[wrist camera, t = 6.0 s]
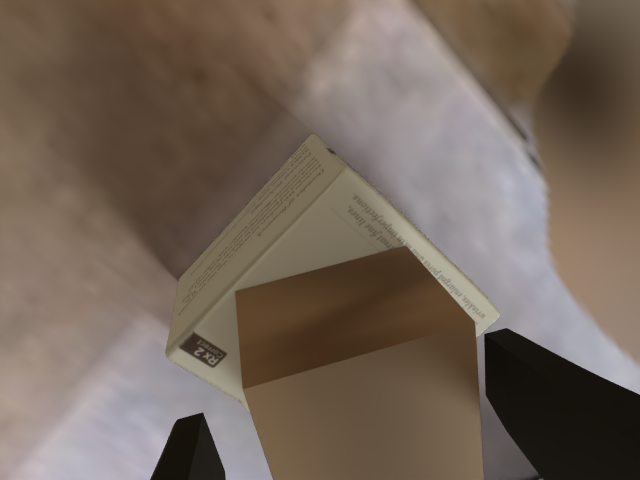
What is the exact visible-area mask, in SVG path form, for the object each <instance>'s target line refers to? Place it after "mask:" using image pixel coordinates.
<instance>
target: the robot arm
mask: <svg viewBox="0 0 640 480" xmlns="http://www.w3.org/2000/svg"><path fill="white" fill-rule="evenodd" d="M484 341H485V386H486V396H487V398H488V400H489V402H490V403H491V405H492V407H493V409H494V410H495V412H496V414H497V416H498V417H499V419H500V421H501V422H502V424H503V426H504V427H505V429H506V431H507V432H508V433H509V435H510V436H511V437H512V439H513V440H514V441H515V443H516V444H517V445H518V447H519V448H520V450H521V451H522V452H523V454H524V455H525V456H526V458H527V459H528V460H529V461H530V463H531V464H532V465H533V467H534V468H535V469H536V471H537V472H538V473H539V475H540V476H541V477H542V478H541V479H538V480H640V395H639V394H637V393H635V392H632V391H630V390H628V389H626V388H624V387H621V386H619V385H617V384H615V383H613V382H610V381H608V380H606V379H604V378H602V377H600V376H598V375H596V374H594V373H592V372H590V371H588V370H586V369H584V368H582V367H580V366H578V365H576V364H574V363H572V362H570V361H568V360H566V359H564V358H562V357H560V356H558V355H557V354H555V353H553V352H551V351H549V350H547V349H545V348H543V347H542V346H540V345H538V344H536V343H534V342H532V341H530V340H529V339H527V338H525V337H523V336H521V335H519V334H517V333H515V332H513V331H511V330H509V329H507V328H505V329H502V330H498V331H494V332H491V333H487V334H484ZM150 480H226V478H225V470H224V468H223V465H222V462H221V460H220V457H219V454H218V452H217V449H216V446H215V444H214V441H213V438H212V435H211V433H210V430H209V427H208V425H207V422H206V419H205V417H204V414H203V413H199V414H196V415H192V416H188V417H185V418H181V419H178V420H177V421H176V422H175V424H174V426H173V428H172V431H171V433H170V436H169V438H168V440H167V443H166V445H165V448H164V450H163V452H162V455H161V457H160V459H159V461H158V464H157V466H156V468H155V470H154V473H153V475H152V477H151V479H150Z"/></svg>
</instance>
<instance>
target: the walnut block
mask: <svg viewBox="0 0 640 480" xmlns="http://www.w3.org/2000/svg"><path fill="white" fill-rule="evenodd" d="M235 298H236V311H237V324H238V337H239V350H240V363H241V376H242V389H243V392H244V395H245V398H246V401H247V404H248V407H249V410H250V413H251V416H252V419H253V422H254V425H255V428H256V431H257V434H258V436H259V439H260V442H261V445H262V448H263V451H264V454H265V457H266V460H267V463H268V466H269V469H270V472H271V475H272V478H273V480H484V477H483V458H482V439H481V421H480V402H479V383H478V365H477V346H476V327H475V321H474V320H473V319H472V318H471V317H470V316H469V315H468V314H467V312H466V311H465V310H464V309H463V308H462V307H461V306H460V305H459V304H458V302H457V301H456V300H455V299H454V298H453V297H452V296H451V295H450V294H449V292H448V291H447V290H446V289H445V288H444V287H443V286H442V285H441V284H440V282H439V281H438V280H437V279H436V278H435V277H434V276H433V275H432V274H431V272H430V271H429V270H428V269H427V268H426V267H425V266H424V265H423V264H422V262H421V261H420V260H419V259H418V258H417V257H416V256H415V255H414V254H413V252H412V251H411V250H410V249H409V248H408V247H407V246H402V247H399V248H395V249H391V250H387V251H384V252H380V253H376V254H372V255H369V256H365V257H361V258H357V259H354V260H350V261H346V262H342V263H339V264H335V265H331V266H327V267H324V268H320V269H316V270H312V271H309V272H305V273H301V274H298V275H294V276H290V277H286V278H283V279H279V280H275V281H271V282H268V283H264V284H260V285H256V286H253V287H249V288H245V289H241V290H238V291H235Z"/></svg>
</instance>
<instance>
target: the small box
mask: <svg viewBox="0 0 640 480" xmlns="http://www.w3.org/2000/svg"><path fill="white" fill-rule="evenodd" d="M402 246H407V247H408V248H409V249H410V250H411V251H412V252H413V254H414V255H415V256H416V257H417V258H418V259H419V260H420V261H421V262H422V264H423V265H424V266H425V267H426V268H427V269H428V270H429V271H430V272H431V274H432V275H433V276H434V277H435V278H436V279H437V280H438V281H439V282H440V284H441V285H442V286H443V287H444V288H445V289H446V290H447V291H448V292H449V294H450V295H451V296H452V297H453V298H454V299H455V300H456V301H457V302H458V304H459V305H460V306H461V307H462V308H463V309H464V310H465V311H466V312H467V314H468V315H469V316H470V317H471V318H472V319H473V320H474V321H475V327H476V338H477V337H478V336H479V335H480V334H481V333H482V332H483V331H485V330H486V329H487V328H488V327H489V326H490V325H491V324H492V323H494V322H495V321H496V320H497V319H498V318H499V317H500V312H499V311H498V310H497V308H496V307H495V306H494V305H493V303H492V302H491V301H490V300H489V299H488V297H487V296H486V295H485V294H484V293H483V292H482V291H481V290H480V289H479V288H478V287H477V286H476V285H475V284H474V283H473V282H472V281H471V280H470V279H469V278H468V277H467V276H466V275H465V274H464V273H463V272H462V271H461V270H460V269H459V268H458V267H457V266H456V265H454V264H453V263H452V262H451V261H450V260H449V259H448V258H447V257H446V256H445V255H444V254H443V253H442V252H441V251H440V250H439V249H438V248H437V247H436V246H435V245H434V244H433V243H432V242H431V241H430V240H429V239H428V238H427V237H426V236H424V235H423V234H422V233H421V232H420V231H419V230H418V229H417V228H416V227H415V226H414V225H413V224H412V223H411V222H410V221H409V220H408V219H407V218H406V217H404V216H403V215H402V214H401V213H400V212H399V211H398V210H397V209H396V208H395V207H394V206H393V205H392V204H391V203H389V202H388V201H387V200H386V199H385V198H384V197H383V196H382V195H381V194H380V193H379V192H377V191H376V190H375V189H374V188H373V187H372V186H371V185H370V184H369V183H367V182H366V181H365V180H364V179H363V178H362V177H361V176H360V175H359V174H358V173H357V172H355V171H354V170H353V169H352V168H351V167H350V166H349V165H348V164H347V163H346V162H344V161H343V160H342V159H341V158H340V157H339V156H338V155H337V154H336V153H335V152H334V151H332V150H331V149H330V148H329V147H328V146H327V145H326V144H325V143H324V142H323V141H322V140H321V139H320V138H319V137H318V136H317V135H316V134H311V135H310V136H309V137H308V138H307V139H306V140H305V142H304V143H303V144H302V145H301V146H300V147H299V148H298V149H297V150H296V152H295V153H294V154H293V155H292V156H291V157H290V158H289V159H288V160H287V161H286V162H285V163H284V165H283V166H282V167H281V168H280V169H279V170H278V171H277V172H276V173H275V174H274V175H273V177H272V178H271V179H270V180H269V181H268V182H267V183H266V184H265V185H264V186H263V187H262V189H261V190H260V191H259V192H258V193H257V194H256V195H255V196H254V197H253V198H252V200H251V201H250V202H249V203H248V204H247V205H246V206H245V207H244V208H243V209H242V210H241V212H240V213H239V214H238V215H237V216H236V217H235V218H234V219H233V220H232V221H231V222H230V224H229V225H228V226H227V227H226V228H225V229H224V230H223V231H222V232H221V233H220V235H219V236H218V237H217V238H216V239H215V240H214V241H213V242H212V243H211V244H210V246H209V247H208V248H207V249H206V250H205V251H204V252H203V253H202V254H201V255H200V257H199V258H198V259H197V260H196V261H195V262H194V263H193V264H192V265H191V266H190V267H189V269H188V270H187V271H186V272H185V273H184V274H183V275H182V276H181V277H180V279H179V281H178V286H177V293H176V299H175V305H174V310H173V317H172V322H171V327H170V333H169V337H168V342H167V346H166V352H165V353H166V357H167V358H168V359H169V360H171V361H173V362H174V363H176V364H177V365H179V366H181V367H182V368H184V369H185V370H187V371H189V372H191V373H192V374H194V375H195V376H197V377H199V378H201V379H202V380H204V381H206V382H207V383H209V384H211V385H212V386H214V387H216V388H218V389H219V390H221V391H223V392H224V393H226V394H228V395H230V396H231V397H233V398H235V399H236V400H238V401H239V402H240V403H242V405H243V406H244V407H245V408H246V409H247V410H248V411H249V412H250V410H249V407H248V404H247V401H246V398H245V395H244V392H243V389H242V376H241V363H240V350H239V337H238V324H237V311H236V298H235V291H238V290H241V289H245V288H249V287H253V286H256V285H260V284H264V283H268V282H271V281H275V280H279V279H283V278H286V277H290V276H294V275H298V274H301V273H305V272H309V271H312V270H316V269H320V268H324V267H327V266H331V265H335V264H339V263H342V262H346V261H350V260H354V259H357V258H361V257H365V256H369V255H372V254H376V253H380V252H384V251H387V250H391V249H395V248H399V247H402Z"/></svg>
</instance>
